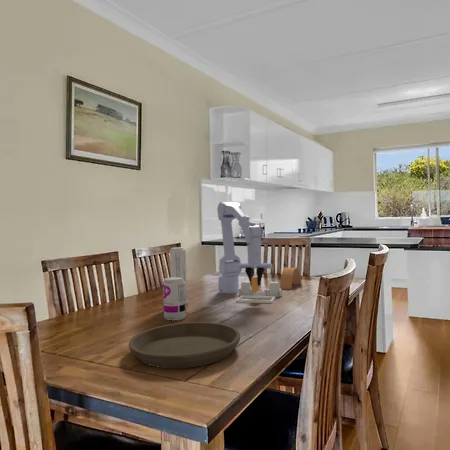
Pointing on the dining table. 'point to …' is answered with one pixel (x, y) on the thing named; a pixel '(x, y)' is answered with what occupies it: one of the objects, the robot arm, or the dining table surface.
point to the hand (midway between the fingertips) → (255, 285)
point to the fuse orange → (254, 284)
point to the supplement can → (174, 298)
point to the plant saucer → (185, 344)
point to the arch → (290, 278)
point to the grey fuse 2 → (273, 287)
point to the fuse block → (260, 293)
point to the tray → (256, 300)
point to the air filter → (178, 265)
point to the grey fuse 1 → (245, 287)
